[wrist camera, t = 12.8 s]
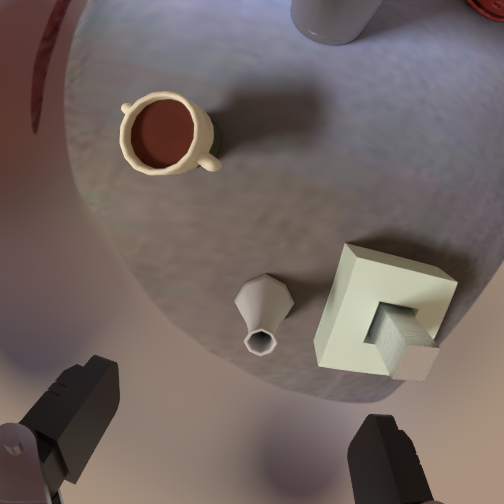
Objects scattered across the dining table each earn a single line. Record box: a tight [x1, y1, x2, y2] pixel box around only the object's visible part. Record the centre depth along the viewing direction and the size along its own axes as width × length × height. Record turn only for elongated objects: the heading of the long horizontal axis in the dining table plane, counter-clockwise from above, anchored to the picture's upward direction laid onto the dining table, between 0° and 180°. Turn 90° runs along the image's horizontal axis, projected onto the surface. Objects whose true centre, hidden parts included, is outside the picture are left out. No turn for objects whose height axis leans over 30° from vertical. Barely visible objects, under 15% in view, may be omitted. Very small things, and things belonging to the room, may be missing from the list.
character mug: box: [120, 91, 222, 175], centre depth 29 cm, size 11×7×13 cm, turn 54°
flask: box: [234, 274, 294, 356], centre depth 35 cm, size 7×7×10 cm
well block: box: [314, 243, 458, 375], centre depth 36 cm, size 14×14×6 cm
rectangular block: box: [368, 301, 440, 381], centre depth 33 cm, size 4×4×14 cm
